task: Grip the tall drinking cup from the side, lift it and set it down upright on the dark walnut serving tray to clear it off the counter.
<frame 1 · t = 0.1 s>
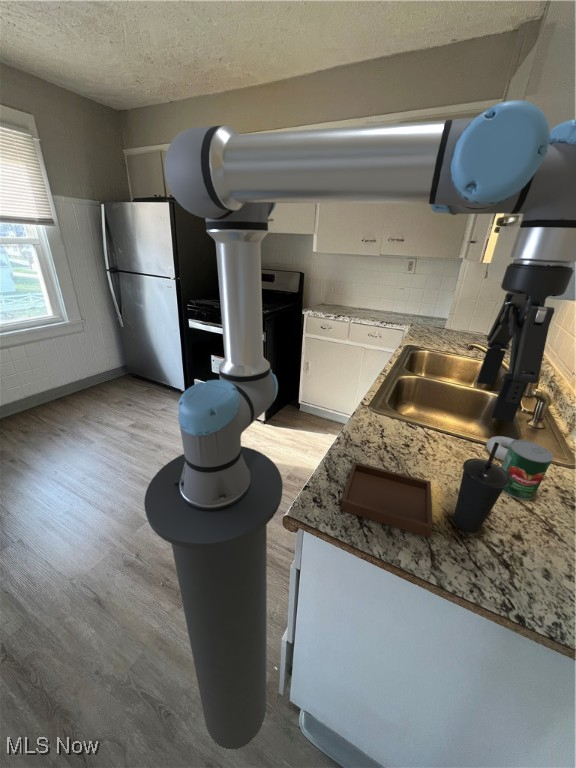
hand: (492, 399, 52), 29 cm above the counter, tool pointing down, fingers open, 13 cm apart
canned tomato: (513, 488, 74), on the counter
donut: (505, 455, 86), on the counter
tray: (386, 500, 69), on the counter
drinking cup: (465, 523, 64), on the counter
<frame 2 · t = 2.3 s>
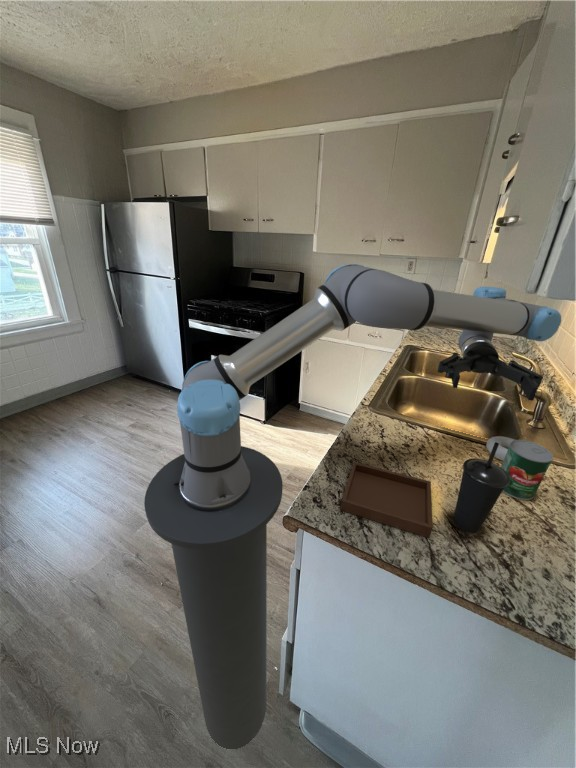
hand: (493, 388, 64), 26 cm above the counter, tool horizontal, fingers open, 13 cm apart
nothing on the counter moved.
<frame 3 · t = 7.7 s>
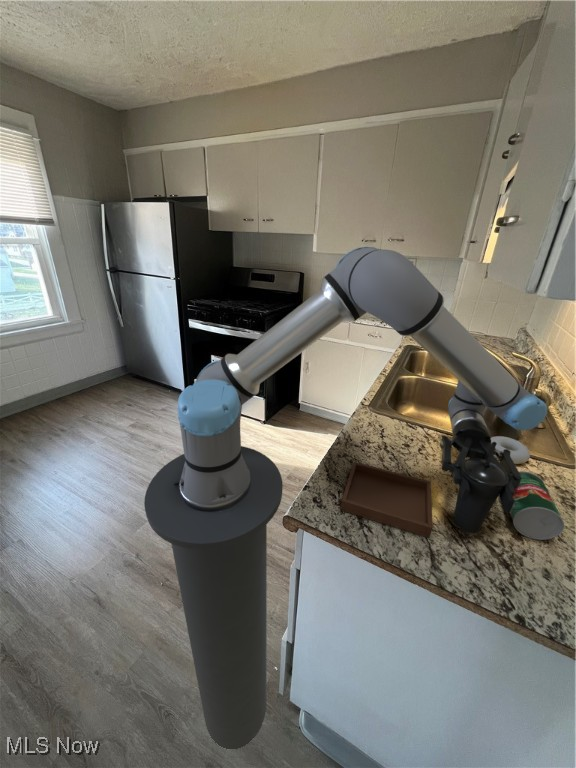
hand: (486, 500, 55), 11 cm above the counter, tool horizontal, fingers closed on drinking cup, 6 cm apart
canned tomato: (522, 485, 69), point 4 cm above the counter
drinking cup: (466, 523, 64), on the counter, touching gripper
everything else where it was.
when the fingers open (12 cm above the counter, at t = 15.9 s): drinking cup stays where it is, resting on tray.
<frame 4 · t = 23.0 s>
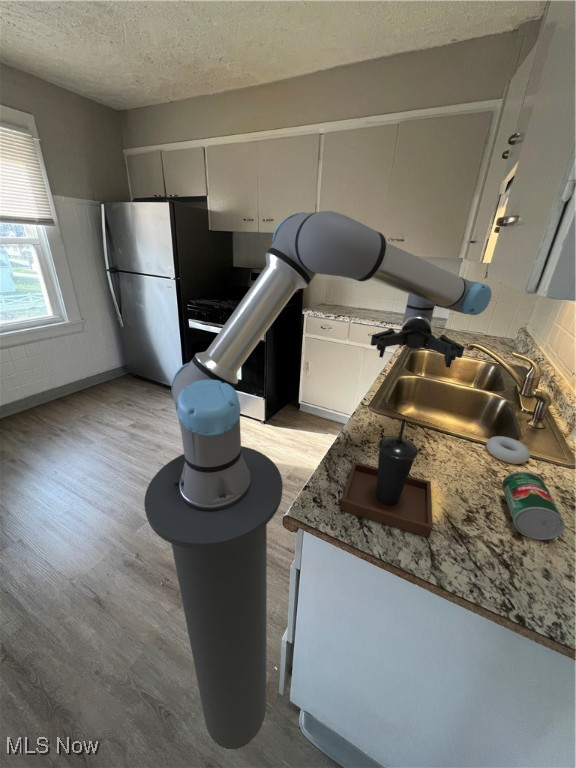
hand: (414, 356, 66), 30 cm above the counter, tool horizontal, fingers open, 13 cm apart
drinking cup: (386, 497, 69), point 1 cm above the counter, touching tray
everything else where it was.
at the end: drinking cup inside the target area in the tray (0.1 cm from its centre), point 0.9 cm above the tray's base; drinking cup tilted 0°; the gripper is holding nothing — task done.
